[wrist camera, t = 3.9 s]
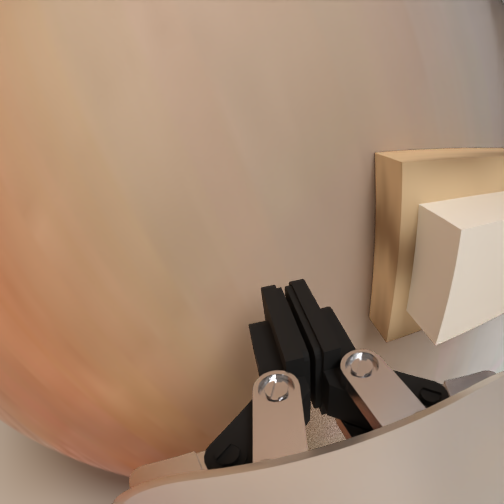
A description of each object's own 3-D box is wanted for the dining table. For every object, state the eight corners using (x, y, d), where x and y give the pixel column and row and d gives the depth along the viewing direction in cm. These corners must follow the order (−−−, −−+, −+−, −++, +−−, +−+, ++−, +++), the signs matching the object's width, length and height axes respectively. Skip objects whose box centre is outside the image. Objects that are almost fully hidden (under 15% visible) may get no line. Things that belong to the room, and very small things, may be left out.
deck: (374, 152, 14) (402, 162, 12) (547, 149, 15) (568, 157, 13) (369, 317, 18) (386, 342, 16) (530, 259, 20) (547, 272, 17)
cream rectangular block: (418, 204, 13) (461, 229, 10) (529, 187, 13) (563, 204, 11) (406, 310, 15) (435, 345, 13) (512, 270, 16) (540, 292, 13)
